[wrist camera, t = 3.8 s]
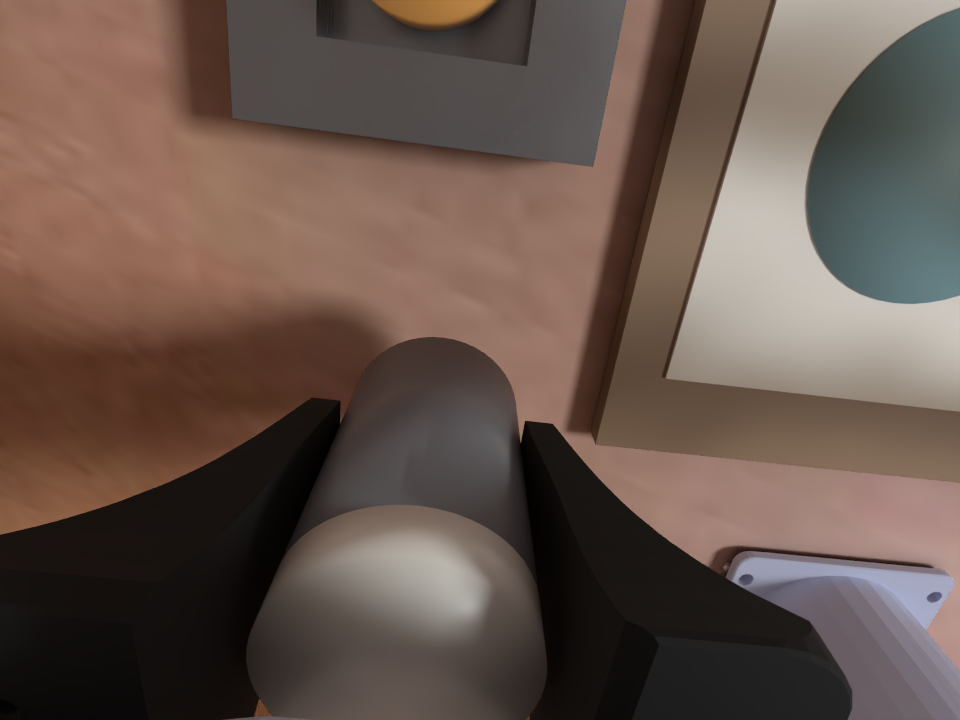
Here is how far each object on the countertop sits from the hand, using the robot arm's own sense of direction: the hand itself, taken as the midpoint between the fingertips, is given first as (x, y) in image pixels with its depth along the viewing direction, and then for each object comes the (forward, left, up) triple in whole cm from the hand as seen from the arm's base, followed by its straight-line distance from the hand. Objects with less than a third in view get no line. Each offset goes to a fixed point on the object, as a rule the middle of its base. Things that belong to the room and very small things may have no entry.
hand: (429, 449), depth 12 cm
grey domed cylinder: (0, 0, -2) cm, 2 cm away
